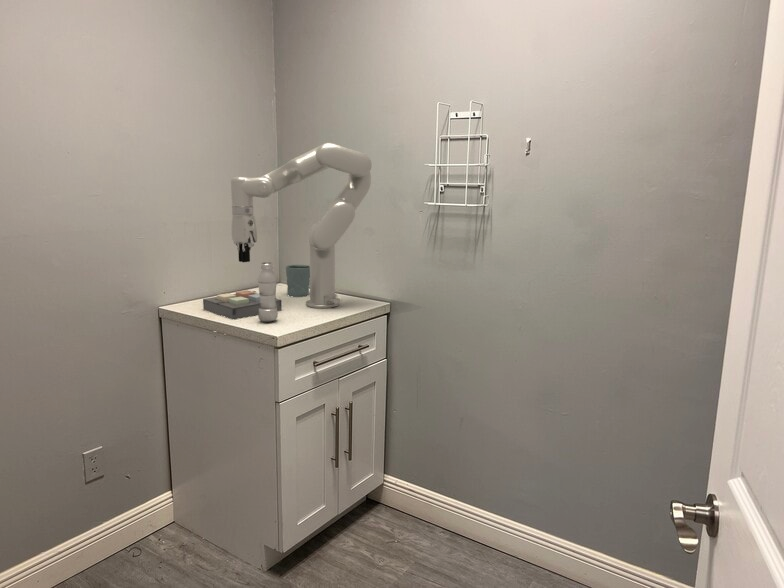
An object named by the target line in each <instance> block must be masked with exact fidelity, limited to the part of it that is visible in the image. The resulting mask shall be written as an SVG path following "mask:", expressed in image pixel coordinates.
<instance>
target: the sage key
mask: <svg viewBox="0 0 784 588" xmlns="http://www.w3.org/2000/svg"><path fill="white" fill-rule="evenodd" d="M229 303H230V304H233V305H242V304H247V303H249V299H248V298H244V297H235V298H229Z"/></svg>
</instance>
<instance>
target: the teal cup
mask: <svg viewBox="0 0 784 588" xmlns="http://www.w3.org/2000/svg"><path fill="white" fill-rule="evenodd" d="M285 274H286V275H285V276H286V285H287V286H286V287H287V296H288V295H289V296H288V297H291V296H293V297H292V298H303V296H304V297H308V296H309V295H310V265H308V264H307V265H306V264H289V265H286V266H285ZM307 295H308V296H307Z"/></svg>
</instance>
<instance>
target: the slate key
mask: <svg viewBox="0 0 784 588" xmlns="http://www.w3.org/2000/svg"><path fill="white" fill-rule="evenodd" d="M248 299H249V300H250V301H254V302H259V301H260V294H259V293H257V294H254V295H248Z"/></svg>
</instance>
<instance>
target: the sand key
mask: <svg viewBox="0 0 784 588" xmlns="http://www.w3.org/2000/svg"><path fill="white" fill-rule="evenodd" d="M233 294H234V293H223V294H222V293H221V294H217V295H216V297H217V300H220V301H223V302H225V301H229V298H235V297H236V295H233Z"/></svg>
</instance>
